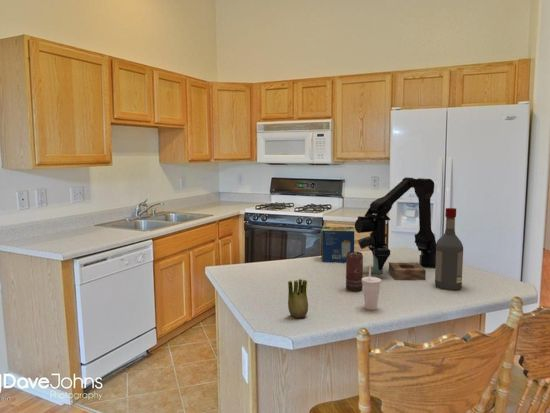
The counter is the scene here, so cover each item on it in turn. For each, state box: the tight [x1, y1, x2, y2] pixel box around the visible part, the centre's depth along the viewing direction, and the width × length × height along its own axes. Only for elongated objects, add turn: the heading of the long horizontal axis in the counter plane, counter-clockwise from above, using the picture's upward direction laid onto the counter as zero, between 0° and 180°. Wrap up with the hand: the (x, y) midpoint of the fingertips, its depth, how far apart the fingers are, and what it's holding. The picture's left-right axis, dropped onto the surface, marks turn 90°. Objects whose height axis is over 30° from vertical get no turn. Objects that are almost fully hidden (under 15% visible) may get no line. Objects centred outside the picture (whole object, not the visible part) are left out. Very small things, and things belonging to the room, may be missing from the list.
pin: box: [372, 254, 384, 275], centre depth 175 cm, size 4×4×8 cm
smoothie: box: [362, 266, 382, 311], centre depth 135 cm, size 6×6×14 cm
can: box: [345, 250, 364, 293], centre depth 154 cm, size 6×6×14 cm
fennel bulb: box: [287, 278, 309, 319], centre depth 128 cm, size 6×5×12 cm
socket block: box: [388, 262, 427, 281], centre depth 171 cm, size 12×12×4 cm
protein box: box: [321, 226, 355, 264], centre depth 197 cm, size 10×15×16 cm
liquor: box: [434, 207, 464, 291], centre depth 155 cm, size 9×9×30 cm
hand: (378, 266), depth 175 cm, fingers open, 9 cm apart
